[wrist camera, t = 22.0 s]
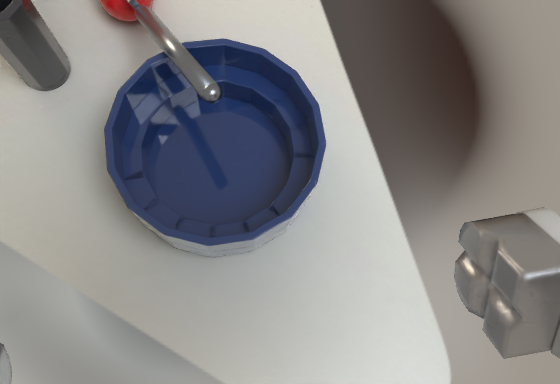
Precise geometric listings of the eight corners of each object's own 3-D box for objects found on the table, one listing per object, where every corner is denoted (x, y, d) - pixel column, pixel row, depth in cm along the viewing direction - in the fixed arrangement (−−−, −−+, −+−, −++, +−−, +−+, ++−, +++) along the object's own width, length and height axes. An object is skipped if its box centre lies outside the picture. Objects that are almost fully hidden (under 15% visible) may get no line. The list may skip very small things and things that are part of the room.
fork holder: (61, 96, 38) (9, 29, 29) (14, 84, 38) (-52, 13, 29) (78, 55, 39) (32, -21, 30) (31, 43, 39) (-28, -36, 30)
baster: (221, 47, 26) (115, -58, 38) (164, 103, 26) (77, -19, 39) (261, 93, 29) (152, -18, 41) (210, 142, 30) (117, 18, 42)
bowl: (288, 277, 36) (297, 268, 30) (100, 230, 36) (73, 212, 30) (328, 106, 40) (343, 68, 34) (158, 62, 39) (144, 17, 34)
